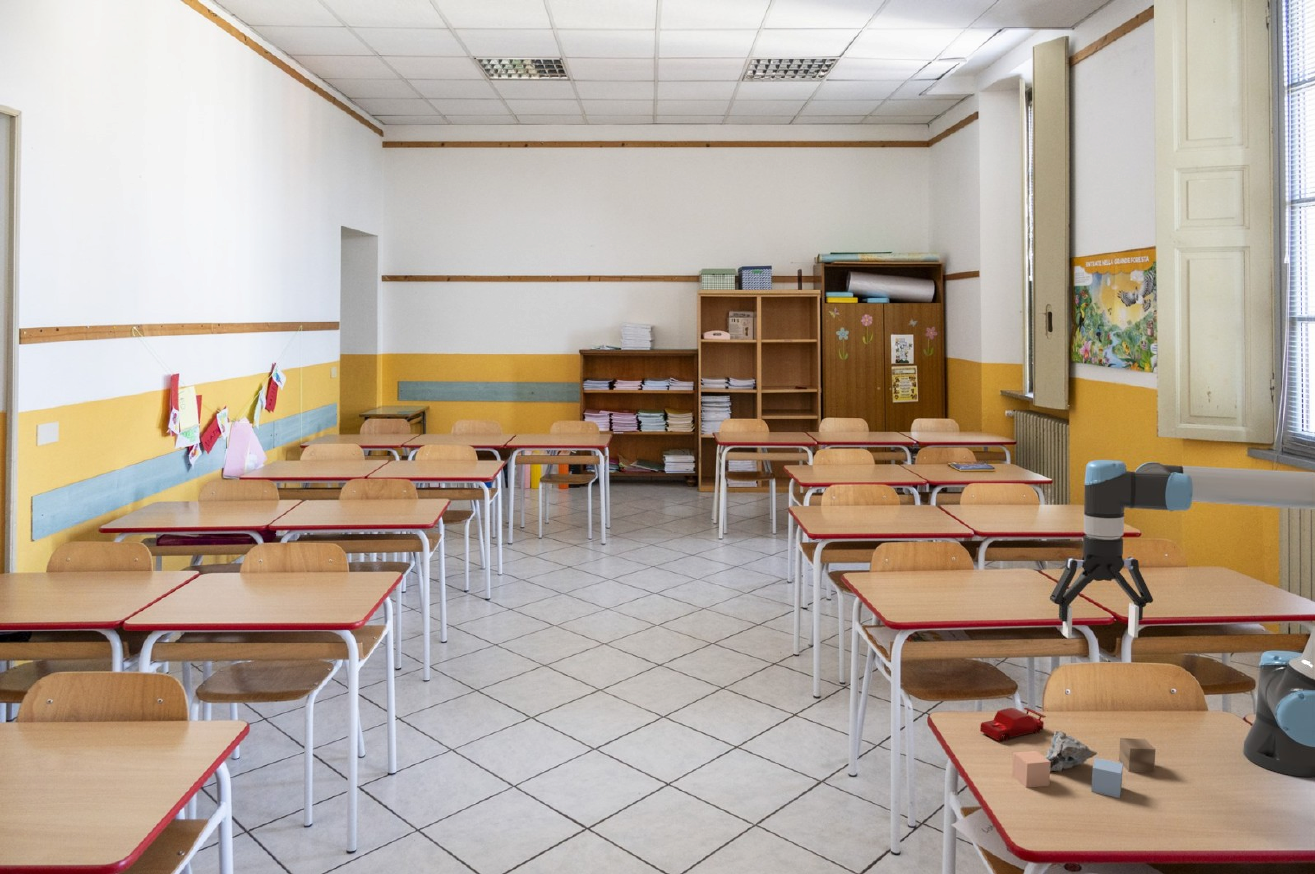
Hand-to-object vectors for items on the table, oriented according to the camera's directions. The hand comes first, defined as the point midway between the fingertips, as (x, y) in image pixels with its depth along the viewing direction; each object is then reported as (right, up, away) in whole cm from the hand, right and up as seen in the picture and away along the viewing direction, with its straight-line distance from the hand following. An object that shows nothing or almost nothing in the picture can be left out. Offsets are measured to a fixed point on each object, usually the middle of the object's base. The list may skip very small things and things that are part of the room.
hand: (1099, 636), depth 202 cm
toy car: (-13, -25, +14) cm, 32 cm away
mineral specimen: (-8, -27, -2) cm, 28 cm away
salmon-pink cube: (-18, -27, -8) cm, 33 cm away
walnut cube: (+7, -27, -2) cm, 27 cm away
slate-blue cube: (-4, -28, -12) cm, 30 cm away
